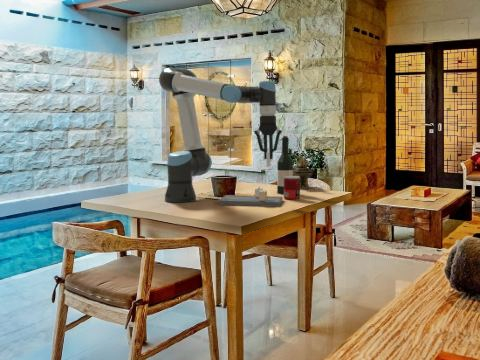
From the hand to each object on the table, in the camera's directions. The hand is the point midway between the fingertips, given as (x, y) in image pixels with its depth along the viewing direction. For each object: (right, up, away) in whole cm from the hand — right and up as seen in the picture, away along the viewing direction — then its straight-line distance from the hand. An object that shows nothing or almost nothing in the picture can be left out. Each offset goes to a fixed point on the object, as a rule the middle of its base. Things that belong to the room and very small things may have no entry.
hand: (268, 166), depth 241 cm
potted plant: (+21, -11, +51) cm, 56 cm away
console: (-8, -17, +3) cm, 19 cm away
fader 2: (-3, -15, -2) cm, 16 cm away
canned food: (+12, -16, +14) cm, 25 cm away
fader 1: (-4, -14, +7) cm, 16 cm away
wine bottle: (+10, -14, +32) cm, 36 cm away
